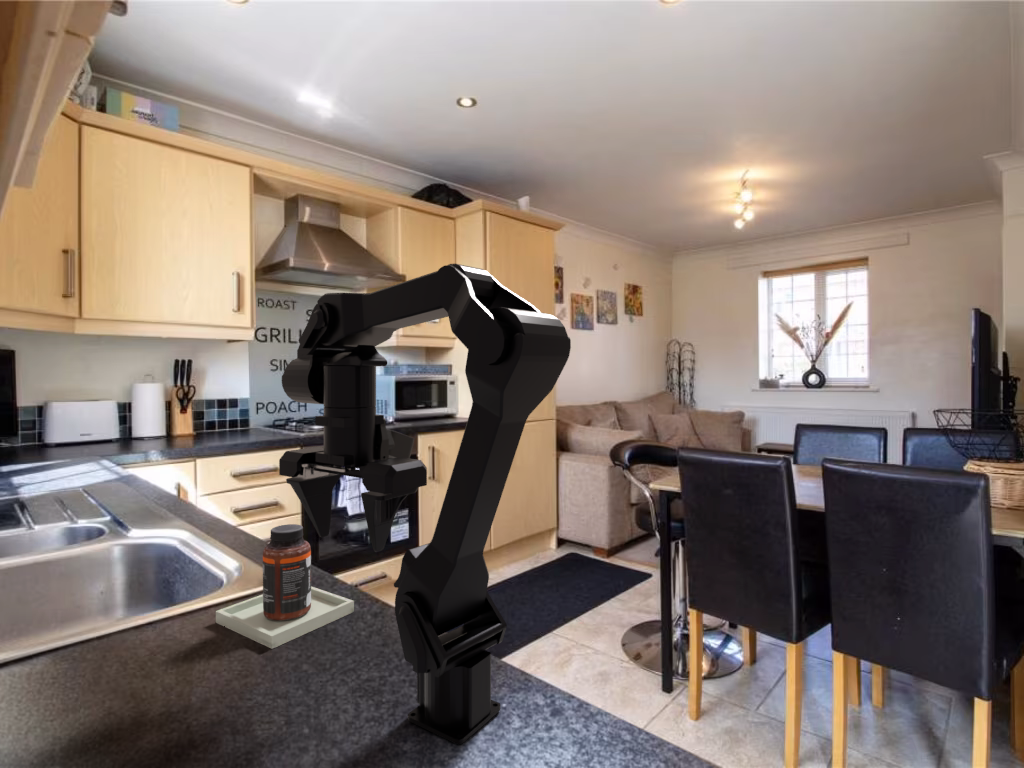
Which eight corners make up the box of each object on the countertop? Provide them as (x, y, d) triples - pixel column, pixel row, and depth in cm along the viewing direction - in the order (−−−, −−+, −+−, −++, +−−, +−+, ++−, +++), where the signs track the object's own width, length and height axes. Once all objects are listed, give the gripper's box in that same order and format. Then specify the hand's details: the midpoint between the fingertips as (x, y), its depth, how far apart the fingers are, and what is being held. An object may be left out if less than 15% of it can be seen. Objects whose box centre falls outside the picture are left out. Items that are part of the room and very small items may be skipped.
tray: (354, 611, 76) (353, 600, 76) (272, 648, 66) (271, 636, 66) (298, 591, 83) (297, 581, 83) (215, 622, 72) (215, 611, 72)
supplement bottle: (321, 608, 75) (321, 525, 75) (285, 626, 70) (285, 537, 70) (289, 600, 78) (289, 519, 78) (252, 616, 73) (252, 530, 72)
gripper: (459, 406, 65) (458, 539, 65) (350, 400, 75) (351, 516, 76) (388, 412, 56) (388, 567, 56) (276, 404, 66) (276, 536, 66)
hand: (350, 543), depth 64 cm, fingers open, 9 cm apart
